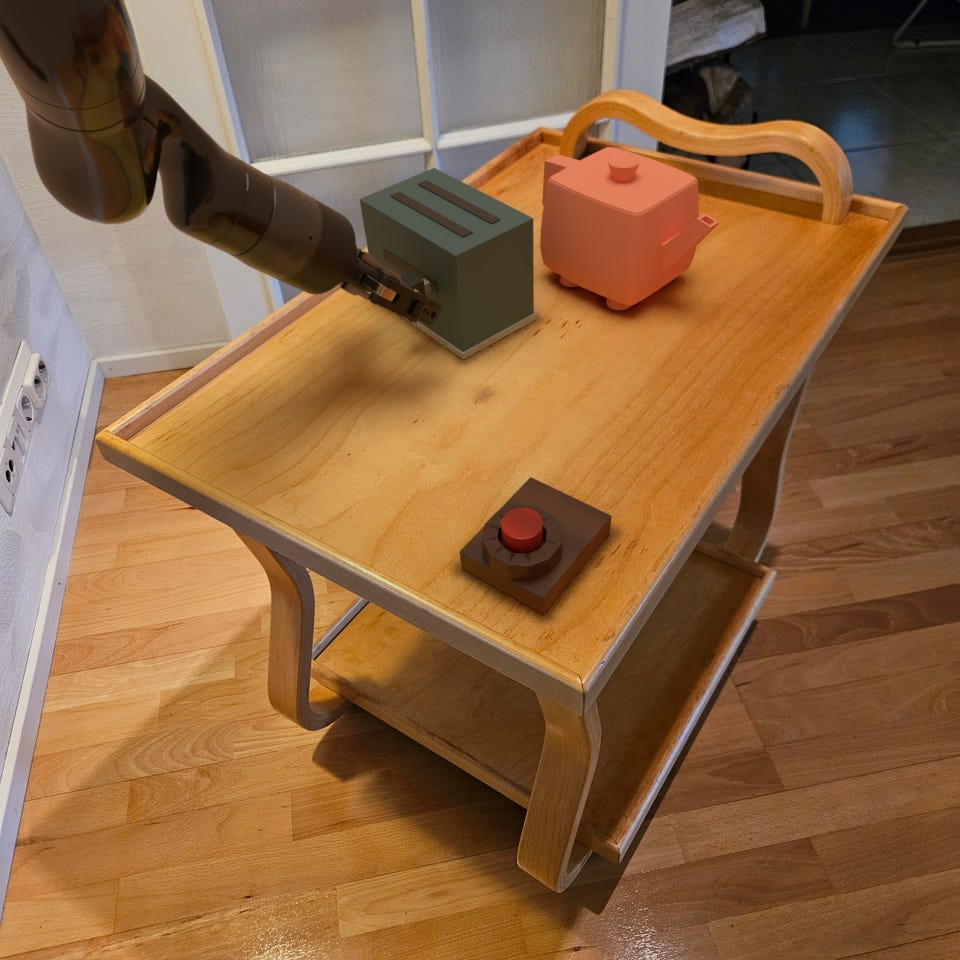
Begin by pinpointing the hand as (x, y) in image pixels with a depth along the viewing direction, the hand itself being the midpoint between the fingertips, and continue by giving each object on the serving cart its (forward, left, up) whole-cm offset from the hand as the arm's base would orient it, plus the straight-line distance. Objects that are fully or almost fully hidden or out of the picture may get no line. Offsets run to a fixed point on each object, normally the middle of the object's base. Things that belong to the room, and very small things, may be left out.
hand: (409, 297), depth 83 cm
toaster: (+4, +7, -6) cm, 10 cm away
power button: (+10, -30, -3) cm, 32 cm away
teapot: (+23, +11, -7) cm, 26 cm away
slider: (+1, 0, -1) cm, 1 cm away
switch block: (+11, -28, -6) cm, 31 cm away
